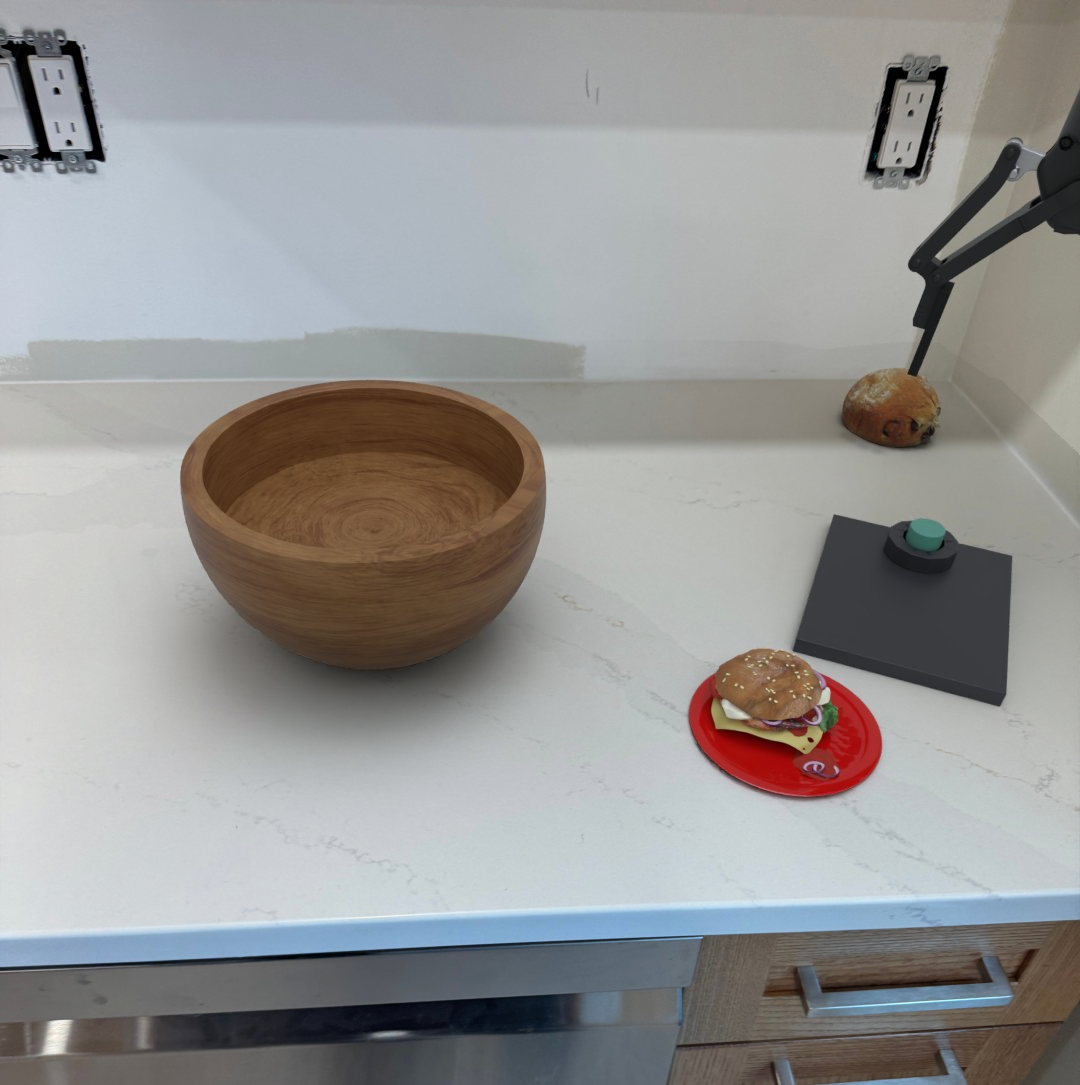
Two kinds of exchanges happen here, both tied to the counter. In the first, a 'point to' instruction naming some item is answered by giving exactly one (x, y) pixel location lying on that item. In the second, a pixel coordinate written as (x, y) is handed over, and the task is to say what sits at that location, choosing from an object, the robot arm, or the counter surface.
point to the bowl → (366, 517)
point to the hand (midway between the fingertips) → (999, 395)
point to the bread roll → (892, 408)
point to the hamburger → (784, 725)
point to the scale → (911, 610)
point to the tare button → (925, 534)
